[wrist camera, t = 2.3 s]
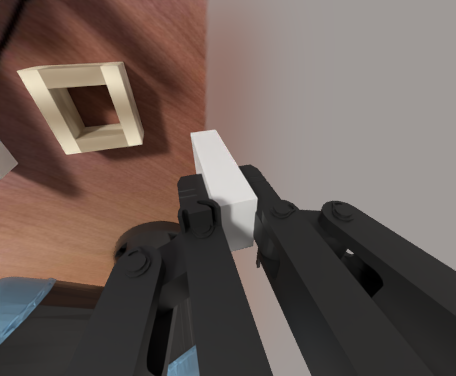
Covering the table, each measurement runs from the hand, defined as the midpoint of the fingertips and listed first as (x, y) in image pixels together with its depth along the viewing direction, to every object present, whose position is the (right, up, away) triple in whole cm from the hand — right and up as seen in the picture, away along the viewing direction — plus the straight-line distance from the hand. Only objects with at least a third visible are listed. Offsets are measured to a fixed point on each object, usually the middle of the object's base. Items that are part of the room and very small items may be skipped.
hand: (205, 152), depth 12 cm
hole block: (-14, +8, +11) cm, 19 cm away
